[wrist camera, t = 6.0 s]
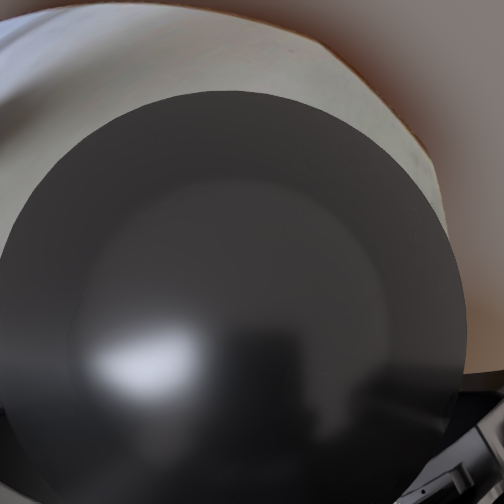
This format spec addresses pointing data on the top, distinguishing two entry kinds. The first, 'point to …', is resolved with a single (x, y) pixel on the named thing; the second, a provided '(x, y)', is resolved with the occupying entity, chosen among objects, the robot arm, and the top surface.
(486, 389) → the robot arm
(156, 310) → the silver metal cylinder
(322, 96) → the top surface
